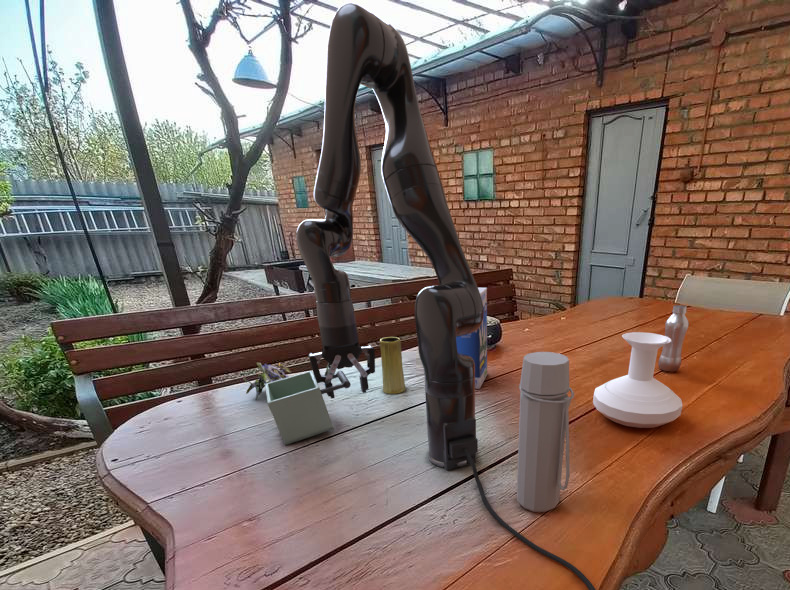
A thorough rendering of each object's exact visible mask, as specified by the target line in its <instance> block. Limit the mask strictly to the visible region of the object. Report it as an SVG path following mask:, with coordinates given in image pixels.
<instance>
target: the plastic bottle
mask: <svg viewBox="0 0 790 590" xmlns="http://www.w3.org/2000/svg"><path fill="white" fill-rule="evenodd" d="M687 308H688V307H687V305H682V304H677V305H676V304H675V305H673V306H672V311H671V312H672V314H671V315H670V316H669V317H668V318H667V320H666V321H665V325H664V336H666V337H668V338H670V339H671V342H669V343H668V344H666V345H664V346H662V350H661V353H660V356H659V359H658V361H657V362H658V368H659V370H661V371H664V372H677V371H679V370H680V368H681V365H682V353H683V352H682V351H683V345H684V341H685V337H686V334H687V331H688V328H689V325H690V324H689V320H688V317H687V316H686V314H687Z"/></svg>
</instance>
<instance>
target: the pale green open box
mask: <svg viewBox="0 0 790 590" xmlns="http://www.w3.org/2000/svg"><path fill="white" fill-rule="evenodd" d="M334 379H338V380H339V382H340V383H338V384H335V385H333V386H332V387H328V388H325V387H324V388H321V387H320V386H319V384H320V383H322V382H317V381H316V379H315V377H314V373H313V370H309V371H304V372H301V373H299V374H294V375H291V376H289V377H287V378H284V379H280V380H277V381H273V382H270V383H266V384H264V385H265V387H264V388H265V393H266V402H267V406H268V408H269V410H270V413H271V415H272V417H273V419H274V422H275V425H276V427H277V429H278V431H279V434H280V436H281V438H282V441H283V443H284V445H285V446H287V445H291V444H293V443H296V442H299V441H302V440H305V439H308V438H311V437H314V436H317V435H320V434H324V433H325V432H329V431H332V430H334V424H333V422H332V419H331V416H330V414H329V410H328V408H327V406H326V402H325V399H324V396H323V395H324V394H327V393H328V392H331V391H334V392H335V391H338V390H340V389H349V388H350V387H351V385H352V384H351V382H350V380H349V378H348V377H347V375H346V374H345V372H344V371H343V370H338V371H337V372H335V374H334V375H333V377H332V380H334ZM320 388H321V389H320Z"/></svg>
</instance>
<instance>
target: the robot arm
mask: <svg viewBox="0 0 790 590" xmlns="http://www.w3.org/2000/svg"><path fill="white" fill-rule="evenodd" d="M325 67H326V69H325V88H324V89H325V90H324V114H323V115H324V118H323V133H322V134H323V136H322V143H321V144H322V145H321V153H320V158H319V163H318V167H317V173H316V178H315V184H314V189H313V199H314V201H315V204H317V206H319V207H320V208H322V209H323V210H325V217H324V219H323V218H320V219H319V218H317V219H316V218H314V219H313V218H312V219H311V218H310V219H305V220H303V221H302V222H300V223H299V225H298V227H297V230H296V245H297V248H298V252H299V254H300V256H301V258H302V260H303V263H304V265H305V267H306V270H307V272H308V274H309V276H310V278H311V281H312V285H313V291H314V296H315V304H316V316H317V318H316V320H317V322H318V328H319V333H320V340H321V345H322V349H321V351H320V352H316V353H312V352H309V353H308V355H307V357H308V359H309V364H310V367H311V371H312V372H313V374H314V377H315V379H316V381H317V382H321V383H323V384H324V389H325V388H328V387H332V386H334V384H333V381H332V380H333V379H332V377H333V375H334V374H336V371H337V370H342V369H344V368H345V369H346V368H348V369H349V368H353V367H355V369H356V370H357V371H358V372H359V383H360V389H361V392H362V393H363V394H365V393H367V391H369V379H368V376H370V375H371V374H375V373H376V349H375V348H374V347H373V346H372V345H371V344H369V345H367V346H361V344H360V342H359V335H358V326H357V319H356V318H357V317H356V312H355V307H354V304H353V299H352V293H351V291H352V290H351V285H350V280H349V276H348V274H347V272H346V271H344V270H341V269H336V268H335V266H334V263H333V262H332V260H331V259H332V258H336V257H341V256H343V255H345V254H346V253H347V252H348V251H349V250H350V248H351V246H352V243H353V241H354V240H353V239H354V208H353V206H354V202H355V199H356V194H357V191H358V186H359V183H360V180H361V179H360V178H361V173H362V160H361V153H360V146H359V140H358V136H357V130H356V119H355V109H356V103H357V102H356V101H357V96H358V93H359V89H360V86H361V85H362V86H364V87H367V88H369V89H371V90H373V92H374V95H375V96H376V99H377V101H378V104H379V106H380V109H381V113H382V116H383V120H384V124H385V139H384V144H383V145H384V146H383V149H382V154H381V155H382V156H381V163H380V165H381V167H380V169H381V170H380V172H381V177H382V180H383V185H384V188H385V191H386V194H387V197H388V200H389V203H390V206H391V209H392V212H393V214H394V216H395V217H396V219H397V221H398V223H399V224H400V225H401V227H402V228H403V229H404V231H405V232H406V233H407V234H408V235H409V236H410V237H411V239H412V240H413V241H414V242H415V244H417V245H418V247H419V248H420V249H421V250H422V251H423V252H424V254H425V255H426V257H427V259H428V260H429V261H430V263H431V265H432V268H433V270H434V272H435V275H436V278H437V281H438V284H434V285H433V284H432V285H429V286H426V287H424V288H422V289H421V290H420V291H419V292H418V294H417V295H416V299H415V303H414V322H415V323H414V324H415V332H416V333H415V334H416V337H417V338H416V340H417V341H416V342H417V349H418V357H419V360H420V362H421V365H422V367H423V375H424V377H423V378H424V392H425V393H424V395H425V410H426V411H425V413H426V428H427V445H428V451H427V453H428V460H429V462H430V463H432V464H433V465H435V466H437V467H441V468H443V469H445V470H446V471H450V470H451V471H452V470H453V469H454V470H455V469H457V468H458V469H459V468H461V467H466V466H470V468H471V470H472V473H473V477H474V480H475V483H476V486H477V489H478V491H479V495H480V497H481V501H482V503H483V505H484V507H485V508H486V510H487V511H488V513H489V514H490V515H491V516H492V518H493V519H494V520H495V521H497V523H498V524H499V525H500V526H502V527H503V528H504V529H505V530H506V531H507V532H509V533H510V534H511V535H513V536H514V537H515V538H517V539H518V540H519V541H521V542H522V543H523V544H525V545H526V546H528V547H529V548H530V549H532V550H534V551H535V552H537V553H539V554H541V555H542V556H544V557H546V558H548V559H550V560H552V561H554V562H556V563H558V564H560V565H561V566H563V567H565V568H566V569H568V570H570V571H571V572H572V573H574V575H575V576H577V577H578V578H579V580H581V581H582V583H583V584H584V585H585V586H586V588H587V589H588V590H597V589H596V587H595V585H593V583H592V582H591V581H590V579H588V578H587V576H586V575H585V574H584V573H582V571H581V570H580V569H578V567H576V566H574V565H573V564H572V563H570V562H569V561H567V560H566V559H563V558H562V557H560V556H558V555H556V554H554V553H552V552H550V551H548V550H546V549H544V548H542V547H540V546H539V545H537V544H536V543H534V542H532V541H531V540H529V539H528V538H526V537H525V536H524V535H522V534H521V533H520V532H518V531H517V530H515V528H513V527H512V526H510V525H509V524H508V523H507V522H505V521H504V520H503V519H502V518H501V517H500V516H499V515H498V513H497V512H496V511H495V510H494V509H493V508H492V506H491V504H490V503H489V501H488V499H487V497H486V494H485V492H484V488H483V485H482V483H481V479H480V476H479V473H478V469H477V467H476V463H477V454H478V453H479V449H478V442H479V439H478V438H477V419H476V389H475V363H474V360H473V359H472V357H470V356H468V355H466V354H462V353H458V351H457V343H456V337H459V336H463V335H466V334H470V333H472V332H474V331H476V330H477V329H478V328H479V327H480V326H481V324H482V321H483V316H484V309H483V302H482V298H481V295H480V292H479V290H478V288H479V287H478V284H477V282H476V279H475V277H474V275H473V272H472V270H471V266H470V264H469V263H468V260H467V258H466V255H465V253H464V250H463V248H462V245H461V244H462V243H461V241H460V239H459V235H458V233H457V232H458V231H457V230H456V226H455V224H454V220H453V217H452V214H451V211H450V208H449V205H448V200H447V197H446V192H445V189H444V186H443V182H442V178H441V176H440V173H439V169H438V166H437V163H436V160H435V157H434V154H433V151H432V148H431V144H430V141H429V137H428V134H427V130H426V127H425V123H424V120H423V116H422V113H421V108H420V104H419V100H418V99H419V98H418V95H417V90H416V85H415V79H414V74H413V70H412V65H411V60H410V55H409V52H408V48H407V45H406V43H405V40H404V38H403V36H402V34H401V33H400V32H399V31H398V29H397V28H396V27H395V26H394V25H393V24H391V23H390V22H388V21H386V20H385V19H383V18H381V17H380V16H378V15H377V14H375V13H373V12H372V11H370V10H368V9H367V8H366V7H364V6H362V5H360V4H358V3H354V2H347V3H344V4H342V5H340V7H339V8H338V9H337V10H336V12H335V14H334V15H333V17H332V21H331V24H330V28H329V33H328V38H327V50H326V66H325ZM361 354H364V356H365V357H366V367H365V368H364V367H363V366H362V365H361V363H360V362H359V359H360V357H361ZM322 358H323V359H324V360H325V361H326V362H327V365H326V368H325V372H324V374H321V372H320V368H319V364H320V363H321V360H322ZM326 395H327V396H328V397H329V398H330V399H331V400H332V399H335V398H336V396H335V390H334V391H331V392H328V393H326Z"/></svg>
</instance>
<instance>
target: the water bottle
mask: <svg viewBox="0 0 790 590" xmlns="http://www.w3.org/2000/svg"><path fill="white" fill-rule="evenodd" d="M518 388H519V391H520V393H519V421H518V449H517V474H516V475H517V477H516V478H517V479H516V501H517V503H518V504H520V505H521V507H522V508H523V509H525V510H527V511H530V512H533V513H545V512H548V511H551V510H553V509H555V508H556V507H557V505H558V504H559V502H560V497H561V490H562V491H566V490H567V488H568V485H569V481H570V476H571V474H570V473H571V471H570V469H571V467H570V423H569V422H570V421H569V418H570V417H569V416H570V415H569V408H570V405H571V402H572V399H574V397H575V392H574V390H573V389H572V388H571V387H570V359H569V358H568V356H567V355H564V354H563V353H558V352H552V351H536V352H530V353H529V352H528V353H527V354H525V355H524V356H523V359H522V366H521V374H520V382H519V385H518ZM569 392H570V394H571V396H569V395H568V393H569ZM564 449H565V450H564ZM564 451H565V480H564V486H562V476H563V475H562V473H563V462H564Z"/></svg>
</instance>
